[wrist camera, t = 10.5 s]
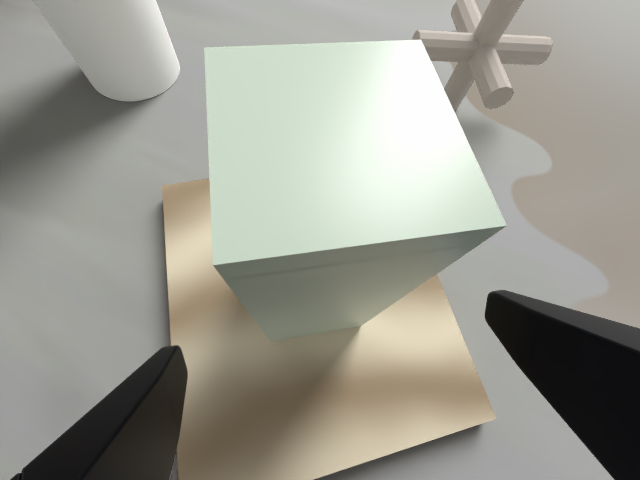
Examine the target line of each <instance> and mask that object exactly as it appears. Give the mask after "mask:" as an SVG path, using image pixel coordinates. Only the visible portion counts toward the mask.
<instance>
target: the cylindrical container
mask: <svg viewBox="0 0 640 480" xmlns="http://www.w3.org/2000/svg"><path fill="white" fill-rule="evenodd" d="M33 1H34V3H35V4H36V6H37V7H38V8H39V10H40V11H41V13H42V14H43V16H44V17H45V18H46V20H47V21H48V23H49V24H50V26H51V27H52V28H53V30H54V31H55V33H56V34H57V36H58V37H59V38H60V40H61V41H62V43H63V44H64V46H65V47H66V48H67V50H68V51H69V53H70V54H71V55H72V57H73V58H74V60H75V61H76V63H77V64H78V65H79V67H80V68H81V70H82V71H83V73H84V74H85V75H86V77H87V78H88V80H89V81H90V83H91V84H92V85H93V87H94V88H95V89H96V90H97V91H98V92H99V93H100V94H102V95H104V96H106V97H108V98H111V99H114V100H119V101H141V100H145V99H149V98H152V97H155V96H157V95H159V94H161V93H163V92H165V91H166V90H167V89H169V88H170V87H171V86H172V85H173V84H174V83H175V81H176V80H177V78H178V76H179V72H180V64H179V62H178V59H177V56H176V53H175V51H174V48H173V45H172V43H171V40H170V37H169V35H168V32H167V29H166V26H165V24H164V21H163V18H162V16H161V13H160V10H159V8H158V5H157V2H156V0H33Z"/></svg>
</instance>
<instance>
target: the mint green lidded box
mask: <svg viewBox="0 0 640 480" xmlns="http://www.w3.org/2000/svg"><path fill="white" fill-rule="evenodd" d="M204 49H205V75H206V101H207V127H208V153H209V179H210V205H211V231H212V257H213V266H214V267H215V269H216V270H217V271H218V273H219V274H220V275H221V277H222V278H223V279H224V281H225V282H226V283H227V285H228V286H229V287H230V289H231V290H232V291H233V293H234V294H235V295H236V297H237V298H238V299H239V300H240V302H241V303H242V304H243V306H244V307H245V308H246V310H247V311H248V312H249V314H250V315H251V316H252V318H253V319H254V320H255V322H256V323H257V324H258V326H259V327H260V328H261V330H262V331H263V332H264V334H265V335H266V336H267V337H268V339H269V340H270V341H271V342H272V341H278V340H283V339H289V338H295V337H301V336H306V335H312V334H318V333H324V332H329V331H335V330H341V329H347V328H352V327H358V326H362V325H363V324H365V323H366V322H368V321H369V320H371V319H372V318H374V317H375V316H377V315H378V314H379V313H381V312H382V311H384V310H385V309H387V308H388V307H390V306H391V305H392V304H394V303H395V302H397V301H398V300H400V299H401V298H403V297H404V296H406V295H407V294H408V293H410V292H411V291H413V290H414V289H416V288H417V287H419V286H420V285H421V284H423V283H424V282H426V281H427V280H429V279H430V278H432V277H433V276H434V275H436V274H437V273H439V272H440V271H442V270H443V269H445V268H446V267H448V266H449V265H450V264H452V263H453V262H455V261H456V260H458V259H459V258H461V257H462V256H463V255H465V254H466V253H468V252H469V251H471V250H472V249H474V248H475V247H477V246H478V245H479V244H481V243H482V242H484V241H485V240H487V239H488V238H490V237H491V236H492V235H494V234H495V233H497V232H498V231H500V230H501V229H503V228H504V227H506V226H507V225H506V223H505V221H504V219H503V216H502V214H501V212H500V210H499V208H498V206H497V203H496V201H495V199H494V197H493V195H492V192H491V190H490V188H489V186H488V184H487V182H486V179H485V177H484V175H483V173H482V171H481V169H480V166H479V164H478V162H477V160H476V158H475V156H474V153H473V151H472V149H471V147H470V145H469V143H468V140H467V138H466V136H465V134H464V132H463V130H462V127H461V125H460V123H459V121H458V119H457V117H456V114H455V112H454V110H453V108H452V106H451V104H450V101H449V99H448V97H447V95H446V93H445V91H444V88H443V86H442V84H441V82H440V80H439V78H438V75H437V73H436V71H435V69H434V67H433V65H432V62H431V60H430V58H429V56H428V54H427V52H426V49H425V47H424V45H423V43H422V41H421V40H399V41H371V42H344V43H316V44H288V45H261V46H233V47H206V48H204Z"/></svg>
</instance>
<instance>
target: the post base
mask: <svg viewBox="0 0 640 480" xmlns="http://www.w3.org/2000/svg"><path fill="white" fill-rule="evenodd" d="M162 192H163V210H164V228H165V246H166V264H167V282H168V300H169V318H170V336H171V346H173V345H178V346H180V348H181V350H182V353H183V356H184V360H185V363H186V366H187V371H188V379H187V386H186V394H185V401H184V408H183V415H182V423H181V429H180V436H179V440H178V445H177V463H178V480H314V479H317V478H320V477H323V476H326V475H329V474H332V473H335V472H338V471H341V470H344V469H347V468H350V467H353V466H356V465H359V464H362V463H365V462H368V461H371V460H374V459H377V458H380V457H383V456H386V455H389V454H392V453H395V452H398V451H401V450H404V449H407V448H410V447H413V446H416V445H419V444H422V443H425V442H428V441H431V440H434V439H437V438H440V437H443V436H446V435H449V434H452V433H455V432H458V431H461V430H464V429H467V428H470V427H473V426H476V425H479V424H482V423H485V422H488V421H491V420H494V419H496V417H495V415H494V412H493V410H492V407H491V405H490V402H489V400H488V398H487V395H486V393H485V390H484V388H483V385H482V383H481V380H480V378H479V376H478V373H477V371H476V368H475V366H474V363H473V361H472V359H471V356H470V354H469V351H468V349H467V346H466V344H465V341H464V339H463V337H462V334H461V332H460V329H459V327H458V324H457V322H456V320H455V317H454V315H453V312H452V310H451V307H450V305H449V303H448V300H447V298H446V295H445V293H444V290H443V288H442V285H441V283H440V281H439V278H438V276H437V274H436V275H434V276H433V277H432V278H430V279H429V280H427V281H426V282H424V283H423V284H421V285H420V286H419V287H417V288H416V289H414V290H413V291H411V292H410V293H408V294H407V295H406V296H404V297H403V298H401V299H400V300H398V301H397V302H395V303H394V304H392V305H391V306H390V307H388V308H387V309H385V310H384V311H382V312H381V313H379V314H378V315H377V316H375V317H374V318H372V319H371V320H369V321H368V322H366V323H365V324H363V325H362V326H358V327H352V328H347V329H341V330H335V331H329V332H324V333H318V334H312V335H306V336H301V337H295V338H289V339H283V340H278V341H272V342H271V341H270V340H269V339H268V337H267V336H266V335H265V334H264V332H263V331H262V330H261V328H260V327H259V326H258V324H257V323H256V322H255V320H254V319H253V318H252V316H251V315H250V314H249V312H248V311H247V310H246V308H245V307H244V306H243V304H242V303H241V302H240V300H239V299H238V298H237V297H236V295H235V294H234V293H233V291H232V290H231V289H230V287H229V286H228V285H227V283H226V282H225V281H224V279H223V278H222V277H221V275H220V274H219V273H218V271H217V270H216V269H215V267H214V266H213V257H212V231H211V205H210V179H202V180H196V181H189V182H183V183H176V184H170V185H163V186H162Z"/></svg>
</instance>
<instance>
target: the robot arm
mask: <svg viewBox="0 0 640 480" xmlns="http://www.w3.org/2000/svg"><path fill="white" fill-rule="evenodd" d="M485 319H486V322H487V323H488V325H489V326H490V328H491V329H492V331H493V332H494V333H495V335H496V336H497V338H498V339H499V340H500V342H501V343H502V345H503V346H504V347H505V349H506V350H507V352H508V353H509V354H510V356H511V357H512V359H513V360H514V361H515V363H516V364H517V365H518V367H519V368H520V369H521V370H522V372H523V373H524V374H525V375H526V376H527V378H528V379H529V380H530V381H531V382H532V383H533V385H534V386H535V387H536V388H537V389H538V390H539V392H540V393H541V394H542V395H543V396H544V397H545V399H546V400H547V401H548V402H549V403H550V405H551V406H552V407H553V408H554V409H555V410H556V412H557V413H558V414H559V415H560V416H561V417H562V419H563V420H564V421H565V422H566V423H567V424H568V426H569V427H570V428H571V429H572V430H573V432H574V433H575V434H576V435H577V436H578V437H579V439H580V440H581V441H582V442H583V443H584V444H585V446H586V447H587V448H588V449H589V450H590V452H591V453H592V454H593V455H594V456H595V457H596V459H597V460H598V461H599V462H600V463H601V464H602V466H603V467H604V468H605V469H606V470H607V471H608V473H609V474H610V475H611V476H612V477H613V479H614V480H640V329H639V328H636V327H632V326H629V325H625V324H622V323H618V322H615V321H611V320H608V319H604V318H601V317H597V316H594V315H590V314H587V313H583V312H580V311H576V310H573V309H569V308H565V307H562V306H558V305H555V304H551V303H548V302H544V301H541V300H537V299H534V298H530V297H527V296H523V295H520V294H516V293H513V292H509V291H506V290H498V291H492V292H490V293H489V294H488V297H487V303H486V309H485ZM187 379H188V371H187V366H186V363H185V360H184V356H183V353H182V350H181V348H180V346H178V345H173V346H167V347H163V348H161V349H160V350H159V351H157V352H156V353H155V354H154V355H153V356H152V357H151V358H149V359H148V360H147V361H146V362H145V363H144V364H143V365H141V366H140V367H139V368H138V369H137V370H136V371H135V372H133V373H132V374H131V375H130V376H129V377H128V378H127V379H125V380H124V381H123V382H122V383H121V384H120V385H119V386H117V387H116V388H115V389H114V390H113V391H112V392H110V393H109V394H108V395H107V396H106V397H105V398H104V399H102V400H101V401H100V402H99V403H98V404H97V405H96V406H94V407H93V408H92V409H91V410H90V411H89V412H88V413H86V414H85V415H84V416H83V417H82V418H81V419H80V420H78V421H77V422H76V423H75V424H74V425H73V426H72V427H70V428H69V429H68V430H67V431H66V432H65V433H63V434H62V435H61V436H60V437H59V438H58V439H57V440H55V441H54V442H53V443H52V444H51V445H50V446H49V447H47V448H46V449H45V450H44V451H43V452H42V453H41V454H39V455H38V456H37V457H36V458H35V459H34V460H32V461H31V462H30V463H29V464H28V465H27V466H26V467H24V468H23V469H22V472H21V473H18V474H16V475H15V476H14V477H13V478H12V479H11V480H169V477H170V473H171V469H172V465H173V461H174V457H175V453H176V449H177V445H178V440H179V436H180V429H181V423H182V415H183V408H184V401H185V394H186V386H187Z"/></svg>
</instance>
